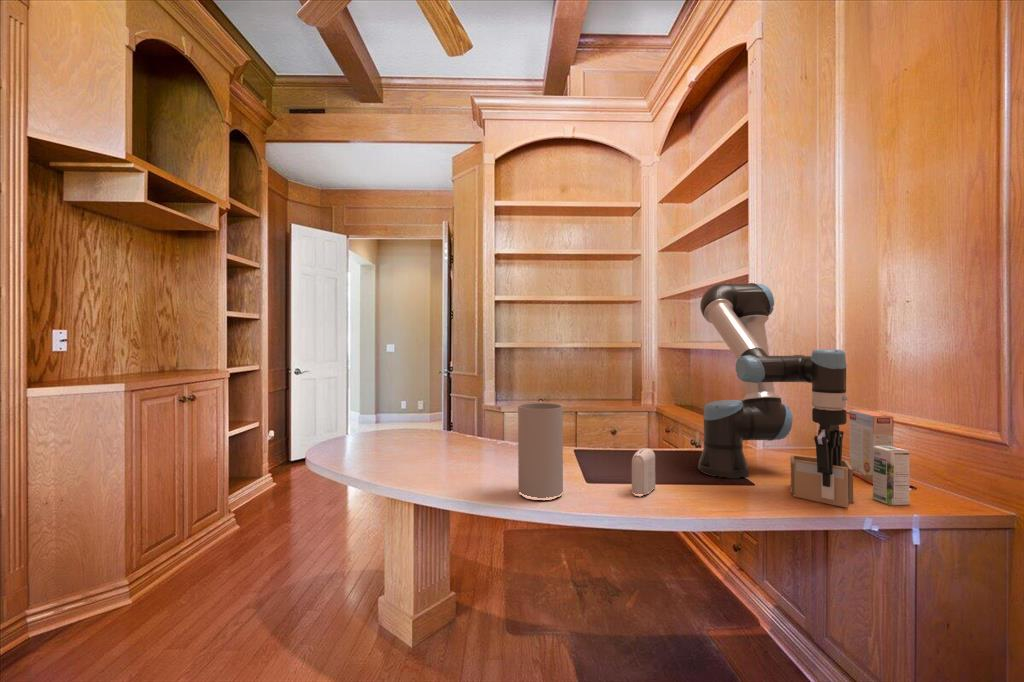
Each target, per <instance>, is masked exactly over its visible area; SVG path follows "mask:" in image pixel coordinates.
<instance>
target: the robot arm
mask: <svg viewBox="0 0 1024 682" xmlns="http://www.w3.org/2000/svg"><path fill="white" fill-rule="evenodd" d="M699 303H700V305H699V306H700V308H699V309H700V312H701V314H702V317H704V319H705V321H706V322H707V323H709V324H712V325H713V326H714V329H716V331H717V333H718V334H719V336H720V337H721V338H722V340H723V341H724V343H725V344H726V346H727V347H728V348H729V350H730V351H731V353H732V354H733V356H734V357H735V359H736V362H735V372H736V376H737V378H738V380H740V381H741V382H744V388H745V396H744V397H743V398H742V399H741V400H738V399H721V400H714V401H710V402H707V403H706V404H705V405H704V409H703V416H702V418H703V448H702V449H703V450H702V452H701V455H700V458H699V461H698V465H697V466H698V467H697V469H699V470H700V471H703V472H705V473H708V474H711V475H716V476H721V477H733V478H732V479H741V478H740V477H744V478H747V477H749V473H750V471H749V469H750V468H749V466H748V461H747V459H746V456H745V453H744V450H743V445H744V444H743V443H744V442H743V441H777V440H779V441H780V440H783V439H785V438H787V437H788V435H789V433H790V432H791V431H792V426H793V414H792V410H791V409H790V407H789V406H788V405H786V404H785V403H783V401H782V397H781V396H779V395H778V394H776V391H775V386H774V383H810V384H811V405H812V407H813V408H812V412H811V414H812V415H811V417H812V419H811V420H812V421H813V422H814V423H817V424H819V428H818V431H817V435H814V438H813V440H814V443H815V455H816V456H815V457H817V472H819V473H821V490H822V498H827V499H831V500H834V474H832V473H833V465H834V466H841V461H842V460H843V459H842V457H843V456H842V455H843V453H842V452H843V439H844V431H843V430H840V426H844V425H845V424H847V423H848V422H847V419H848V418H847V416H848V415H847V411H846V409H845V408H847V401H848V400H849V397H848V396H847V367H848V365H847V360H846V352H845V351H844V350H843V349H830V348H829V349H820V348H819V349H814V350H812V352H811V355H804V354H793V355H770V351H769V345H768V340H767V333H766V332H767V331H766V326H765V325H766V324H765V323H767V321H768V320H769V318H770V317H769V316H770V315H772V313H773V311H774V306H775V298H774V295H773V292H772V291H771V289H770V288H769V287H768V286H767V285H765V284H762V283H755V282H749V283H743V282H742V283H727V282H726V283H723V282H722V283H718V284H714V285H713V286H711V287H709V288H708V289H707V290H706V291H705V292H704V293H703V295H702V297H701V299H700V302H699ZM699 470H698V471H699ZM700 471H699V472H700ZM721 477H720V478H721Z"/></svg>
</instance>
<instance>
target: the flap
mask: <svg viewBox="0 0 1024 682" xmlns="http://www.w3.org/2000/svg"><path fill="white" fill-rule="evenodd" d="M832 474H834V500H831V499H827V498H822V490H821V473H819V472H817V463H816V462H810V461H803V460H797V459H796V460H794V493H795V496H794V497H795V498H800V499H803V500H805V499H806V500H808V501H809V500H810V501H814V502H817V503H822V504H828V505H832V506H837V507H843V508H846V509H847V508H849V503H848V468H847V467H841V466H834V465H833V473H832Z"/></svg>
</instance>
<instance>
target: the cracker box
mask: <svg viewBox="0 0 1024 682" xmlns="http://www.w3.org/2000/svg"><path fill="white" fill-rule="evenodd" d="M894 419H895V417H894V416H893V415H888V414H885V413H881V412H876V411H874V410H869V409H849V464H850V465H851V467H852V469H853V474H854V475H853V476H855V477H856V478H859V479H861V480H862V481H865V482H867V483H869V484H870V483H871V485H872V484H873V446H892V447H894V431H895V430H894V428H895V427H894V422H895V421H894Z"/></svg>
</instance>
